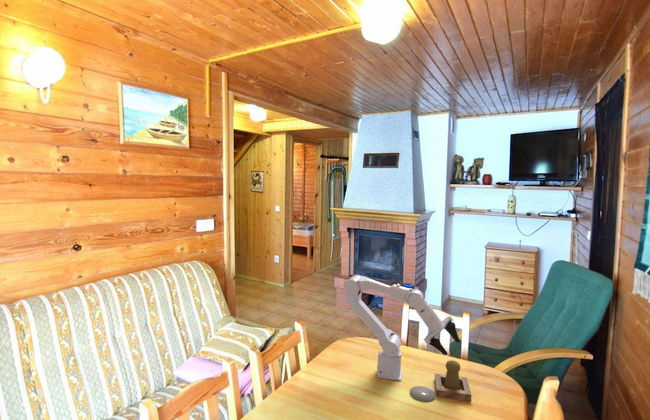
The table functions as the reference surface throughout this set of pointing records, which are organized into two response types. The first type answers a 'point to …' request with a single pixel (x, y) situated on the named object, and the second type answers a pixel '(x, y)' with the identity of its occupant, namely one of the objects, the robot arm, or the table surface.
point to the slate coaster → (422, 393)
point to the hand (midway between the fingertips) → (452, 347)
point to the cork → (452, 375)
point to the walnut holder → (452, 393)
